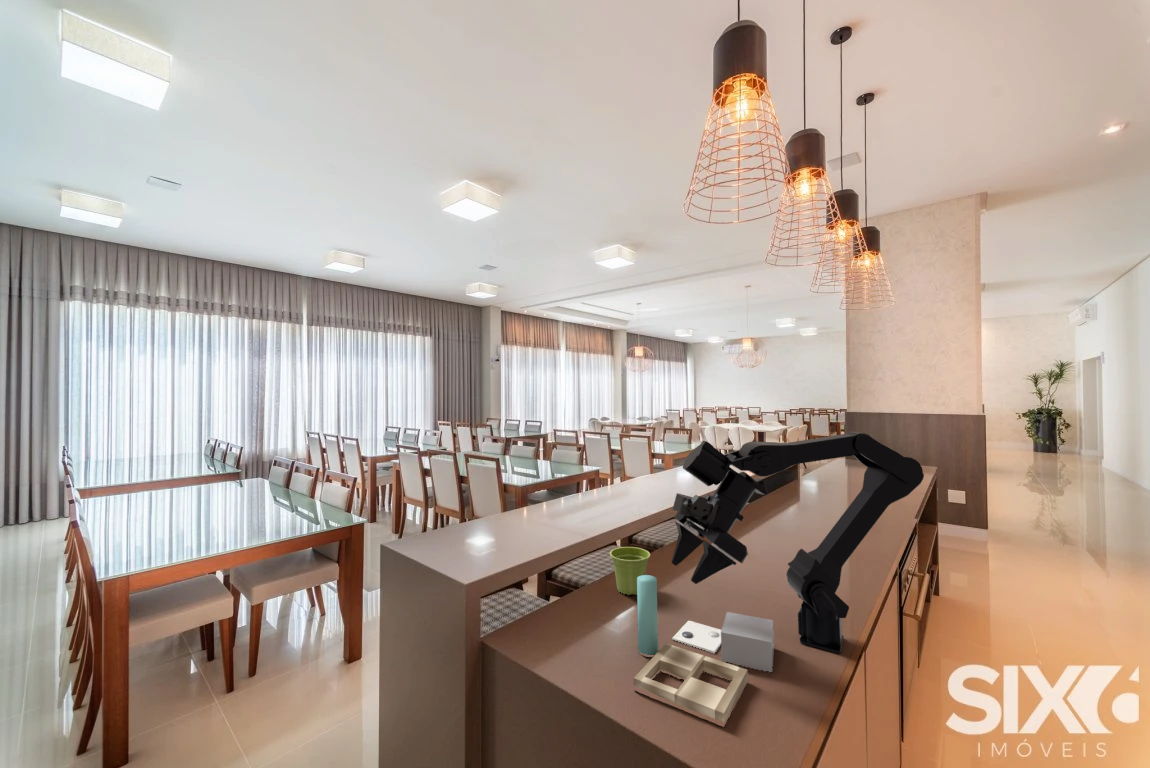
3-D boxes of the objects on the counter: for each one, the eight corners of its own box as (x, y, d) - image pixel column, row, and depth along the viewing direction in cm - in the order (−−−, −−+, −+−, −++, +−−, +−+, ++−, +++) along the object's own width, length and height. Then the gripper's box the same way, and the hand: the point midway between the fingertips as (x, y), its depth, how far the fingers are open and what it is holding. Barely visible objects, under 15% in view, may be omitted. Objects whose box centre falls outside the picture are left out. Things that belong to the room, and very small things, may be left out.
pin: (661, 650, 82) (660, 577, 83) (652, 659, 80) (651, 584, 80) (643, 644, 84) (642, 573, 85) (634, 653, 82) (633, 580, 82)
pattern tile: (728, 633, 88) (728, 630, 88) (714, 653, 81) (714, 650, 81) (688, 622, 92) (688, 619, 92) (672, 640, 86) (672, 637, 86)
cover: (773, 648, 83) (773, 620, 83) (772, 672, 75) (771, 642, 75) (727, 638, 86) (726, 611, 86) (721, 661, 79) (720, 632, 79)
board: (747, 682, 73) (747, 669, 73) (724, 728, 63) (723, 713, 63) (666, 654, 81) (665, 643, 81) (634, 691, 71) (633, 678, 71)
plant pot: (624, 578, 114) (624, 543, 115) (658, 588, 108) (657, 551, 109) (602, 591, 107) (602, 554, 107) (637, 603, 101) (636, 563, 101)
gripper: (676, 469, 94) (633, 534, 92) (718, 484, 75) (666, 566, 73) (717, 500, 95) (676, 564, 93) (769, 522, 77) (719, 603, 74)
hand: (682, 572), depth 83 cm, fingers open, 9 cm apart
